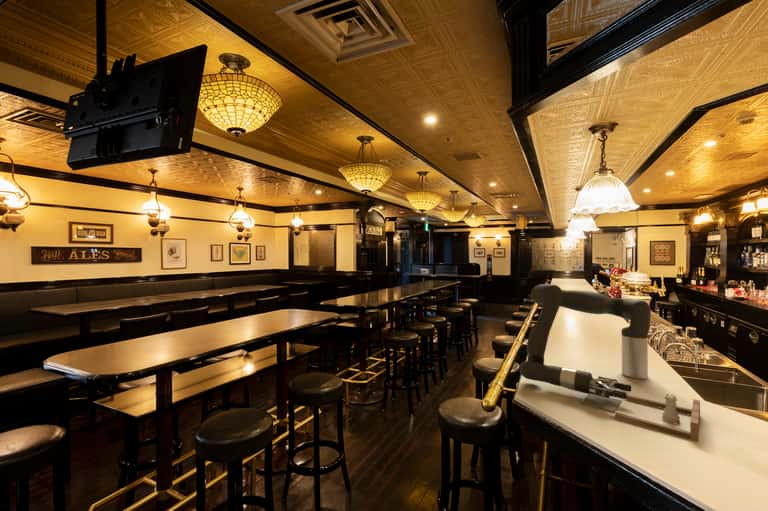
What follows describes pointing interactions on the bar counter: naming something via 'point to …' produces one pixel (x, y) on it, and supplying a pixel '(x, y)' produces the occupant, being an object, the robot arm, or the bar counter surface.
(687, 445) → the bar counter surface
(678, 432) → the walnut lane
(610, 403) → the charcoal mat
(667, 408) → the rook chess piece
